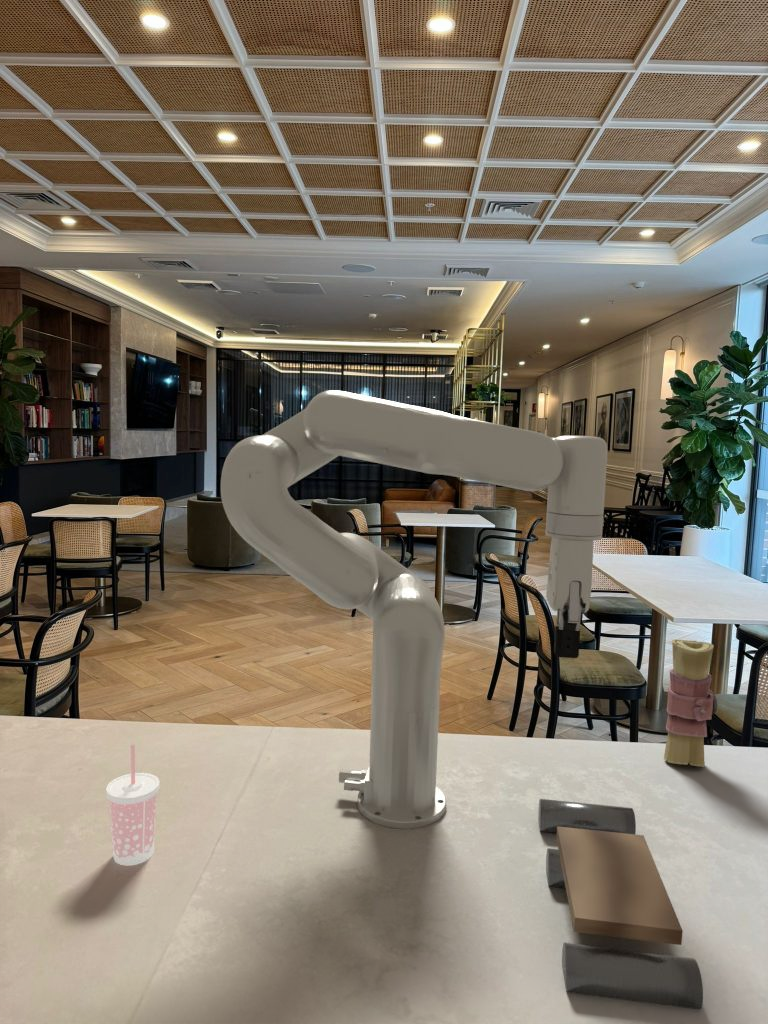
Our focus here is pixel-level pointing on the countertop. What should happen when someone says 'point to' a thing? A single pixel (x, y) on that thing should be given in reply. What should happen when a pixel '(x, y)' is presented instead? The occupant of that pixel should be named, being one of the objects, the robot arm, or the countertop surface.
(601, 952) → the roller
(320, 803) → the countertop surface
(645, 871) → the slab
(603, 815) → the cylinder
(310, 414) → the robot arm
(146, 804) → the beverage cup
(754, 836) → the countertop surface
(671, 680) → the scroll
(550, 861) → the roller front
